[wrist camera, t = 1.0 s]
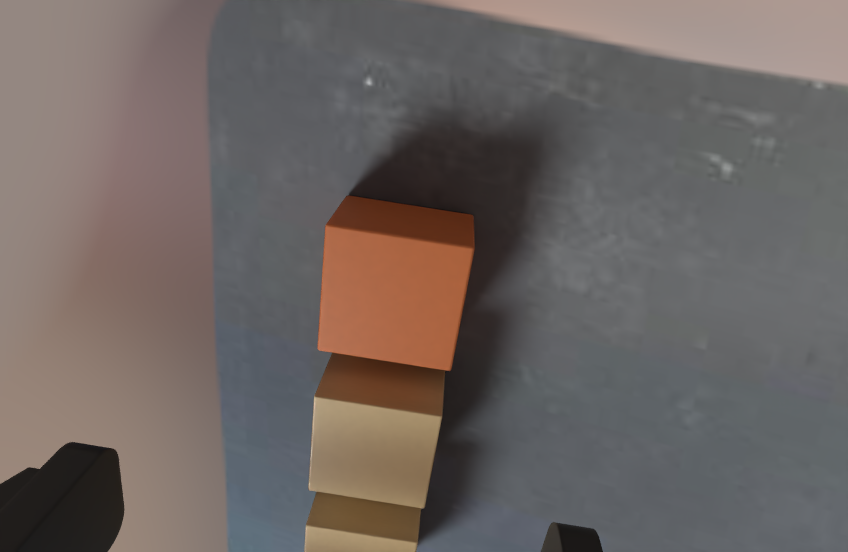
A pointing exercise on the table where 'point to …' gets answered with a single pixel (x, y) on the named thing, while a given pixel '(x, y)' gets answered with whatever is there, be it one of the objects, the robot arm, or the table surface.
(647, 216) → the table surface
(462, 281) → the orange square block
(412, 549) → the tile
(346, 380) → the word tile
